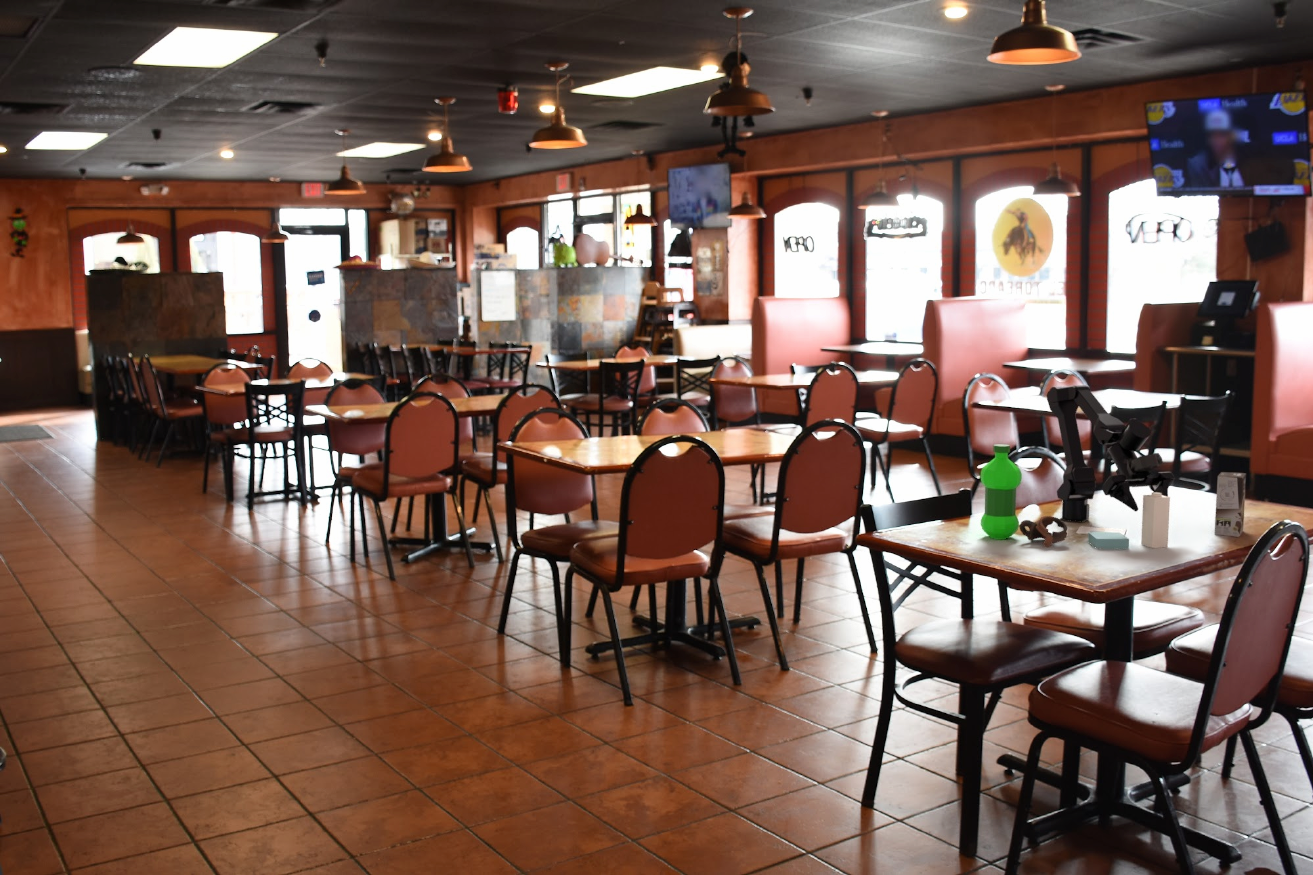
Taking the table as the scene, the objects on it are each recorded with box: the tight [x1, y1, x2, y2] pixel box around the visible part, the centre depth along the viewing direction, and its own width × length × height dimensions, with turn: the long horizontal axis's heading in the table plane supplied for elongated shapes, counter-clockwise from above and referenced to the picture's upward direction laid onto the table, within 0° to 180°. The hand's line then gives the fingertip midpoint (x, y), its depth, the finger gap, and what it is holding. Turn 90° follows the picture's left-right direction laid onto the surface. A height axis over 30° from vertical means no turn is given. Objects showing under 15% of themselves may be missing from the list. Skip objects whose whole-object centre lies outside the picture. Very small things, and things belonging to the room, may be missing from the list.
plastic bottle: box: [980, 443, 1023, 540], centre depth 318 cm, size 10×10×25 cm
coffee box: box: [1214, 471, 1247, 538], centre depth 320 cm, size 9×6×16 cm
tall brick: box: [1140, 491, 1171, 549], centre depth 306 cm, size 4×4×14 cm
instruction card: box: [1076, 525, 1127, 536], centre depth 324 cm, size 12×9×1 cm
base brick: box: [1087, 532, 1130, 550], centre depth 308 cm, size 8×8×3 cm
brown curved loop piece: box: [1018, 515, 1068, 548], centre depth 311 cm, size 12×10×8 cm
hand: (1152, 509), depth 307 cm, fingers open, 9 cm apart
